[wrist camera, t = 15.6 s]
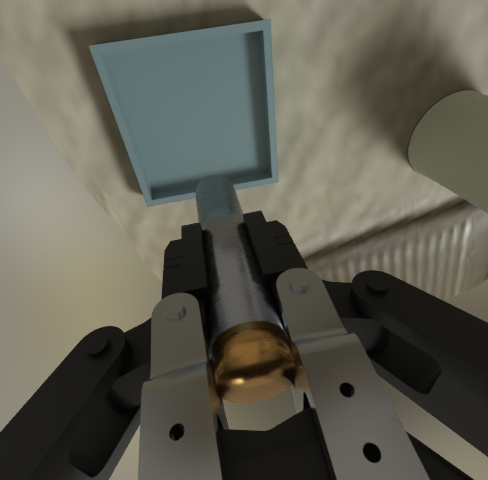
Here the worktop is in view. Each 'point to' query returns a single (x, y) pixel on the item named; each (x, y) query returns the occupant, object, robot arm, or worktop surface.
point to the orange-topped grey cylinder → (239, 303)
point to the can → (455, 146)
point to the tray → (194, 107)
